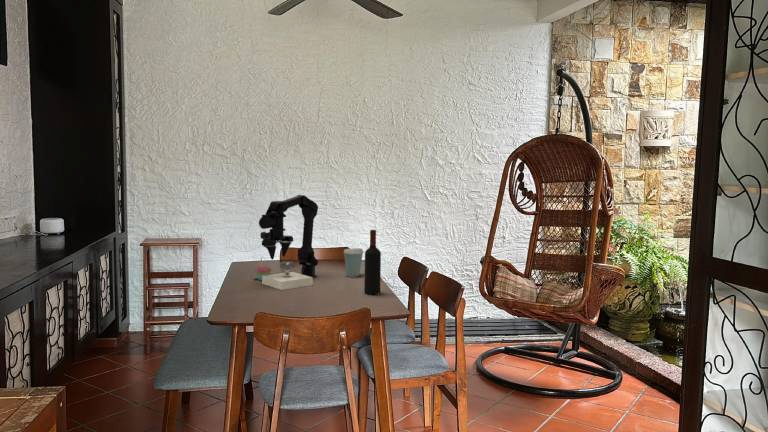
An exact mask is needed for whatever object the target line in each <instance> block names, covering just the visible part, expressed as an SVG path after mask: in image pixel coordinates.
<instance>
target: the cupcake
mask: <svg viewBox="0 0 768 432" xmlns="http://www.w3.org/2000/svg"><path fill="white" fill-rule="evenodd" d="M254 273H255V274H256V277H257V279H258V280H259V281H262V276H266V275H271V273H272V269H271V267H269V266H267V265H263V258H262V257H260V265H259V266H257V267H255V269H254Z"/></svg>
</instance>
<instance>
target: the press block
mask: <svg viewBox="0 0 768 432" xmlns="http://www.w3.org/2000/svg"><path fill="white" fill-rule="evenodd" d="M313 279H314V278H313V277H309V276H306V275H302V274H301V273H298V272H295V271H289V275H285V272H283V273H275V274H269V275H266V276H262V280H261V281H262V283H261V284H262V285H265V286H268V287H269V288H270V287H271V288H274V289H276V290H280V291H285V290H290V289H297V288H298V289H299V288H304V287H310V286H311V287H312V286H313Z"/></svg>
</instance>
